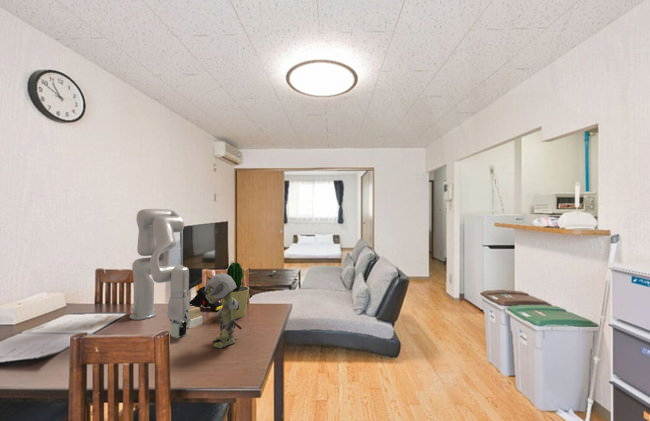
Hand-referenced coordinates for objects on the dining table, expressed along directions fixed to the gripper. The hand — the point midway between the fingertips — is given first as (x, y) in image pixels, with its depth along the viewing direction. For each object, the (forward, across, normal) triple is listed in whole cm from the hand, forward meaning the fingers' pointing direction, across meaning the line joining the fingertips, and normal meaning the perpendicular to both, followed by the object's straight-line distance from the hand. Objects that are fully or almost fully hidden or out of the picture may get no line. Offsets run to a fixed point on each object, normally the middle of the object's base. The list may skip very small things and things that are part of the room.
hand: (178, 333), depth 140 cm
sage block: (+1, 0, 0) cm, 1 cm away
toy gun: (+1, -22, +34) cm, 41 cm away
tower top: (-3, -7, +12) cm, 14 cm away
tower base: (+1, -7, +12) cm, 14 cm away
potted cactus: (+1, +2, +33) cm, 33 cm away
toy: (+1, +24, +4) cm, 24 cm away
